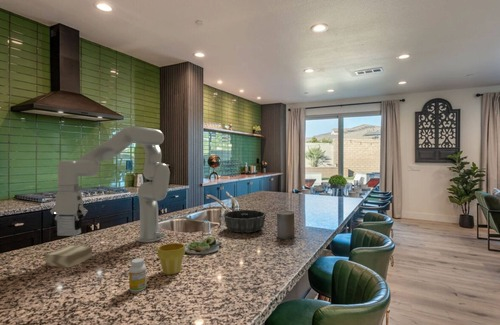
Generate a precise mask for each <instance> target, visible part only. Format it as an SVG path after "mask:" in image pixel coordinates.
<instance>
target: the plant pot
mask: <svg viewBox="0 0 500 325" xmlns="http://www.w3.org/2000/svg"><path fill="white" fill-rule="evenodd" d="M185 248H186V245H185V244H184V243H180V242H179V243H177V242H173V243H172V242H171V243H165V244H162V245H159V246H157V257H158V259H159V262H160V266H161V269H162V273H163V274H164V275H176V274H179V272H180V271H182V270H181V269H182V265H183V260H184V259H183V258H184V256H185V253H186V252H185Z"/></svg>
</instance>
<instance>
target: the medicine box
mask: <svg viewBox="0 0 500 325" xmlns="http://www.w3.org/2000/svg"><path fill="white" fill-rule="evenodd" d="M78 217H79V215H78ZM75 221H76V219H75V216H74V215H60V216H57V229H56V231H57V232H56V234H57V236H61V237H64V236H67V237H68V236H70V237H71V236H72V237H74V236H75V237H76V236H78V235H80V234H81V233H82V228H81V229H78V230H75Z"/></svg>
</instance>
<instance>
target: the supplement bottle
mask: <svg viewBox="0 0 500 325" xmlns="http://www.w3.org/2000/svg"><path fill="white" fill-rule="evenodd" d="M130 265H131V266H130V267H129V269H128V274H129V275H128V277H129V279H128V280H129V286H128V288H129V291H130V292H133V293H134V292H135V293H136V292H141V291H144V290H145V289H146V288H147V267H146V265H145V259H144V258H141V257H140V258H138V257H137V258H134V259H132V260H131V264H130Z"/></svg>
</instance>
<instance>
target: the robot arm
mask: <svg viewBox="0 0 500 325" xmlns="http://www.w3.org/2000/svg"><path fill="white" fill-rule="evenodd" d="M164 140H165V135H164V133H163V132H162V131H161V130H159V129H157V128H151V127H144V126H139V125H138V126H137V125H134V126H133V125H132V126H126V127H124V128H122V129H120V130H119V131H118V132H116V133H115V134H114V135H112V136H111V137H110V138H108V139H107V140H106V141H105V142H103V143H101V144H99V145H98V146H96V147H95V148H92V149H91V150H89V151H88V152H86V153H84V154H83V155H81V157H79V158H78V159H77V160H61V161H58V163H57V192H56V196H55V201H54V203H55V204H54V207H52V208H51V209H50V210H49V212H50V214H51V215H52V216H51V217H53V218H54V220H55V221H56V222H55V223H56V225H55V226H56V228H55V229H56V230H57V216H60V215H74V216H75V219H76V221H75V230H78V229H81V230H82V226H83V224H82V222H83V221H82V220H83V219H84V218H85V217H86V215H87V213H88V209H87V208H86V207H84V203H83V202H84V200H83V196H82V192H81V191H80V190H81V188H82V187H81V186H80V184H79V182H80V181H79V177H94V176H96V175H97V174H98V173H99V171H100V165H99V164H101V163H103V162H104V161H108V160H110V159H113V158H115V157H117V156H119V155H120V154H121V153H122V152H124V151H125V150H126V149H127V148H128V147H129V146H130V145H132V144H140V146H142V148H143V150H144V153H145V159H144V165H143V173H142V174H143V176H144V178H145V179H146V180H149V181H146V182H142V183H141V184H140V185H139V187H138V189H137V197H138V200H139V201H138V202H139V236H138V237H137V238H136V241H137V242H138V243H142V244H143V243H153V242H158V241H161V239H162V238H165V237H166V233H165V232H161V229H159V204H158V202H159V201H163V200H164V199H165V198H166V197H167V194H168V190H169V185H170V175H171V171H170V168H169V166H168V165H167V164H166V163H163V162H162V158H163V157H162V149H161V147H160V145H161V144H163V143H164ZM150 180H151V182H150ZM78 215H79V217H78Z"/></svg>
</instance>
